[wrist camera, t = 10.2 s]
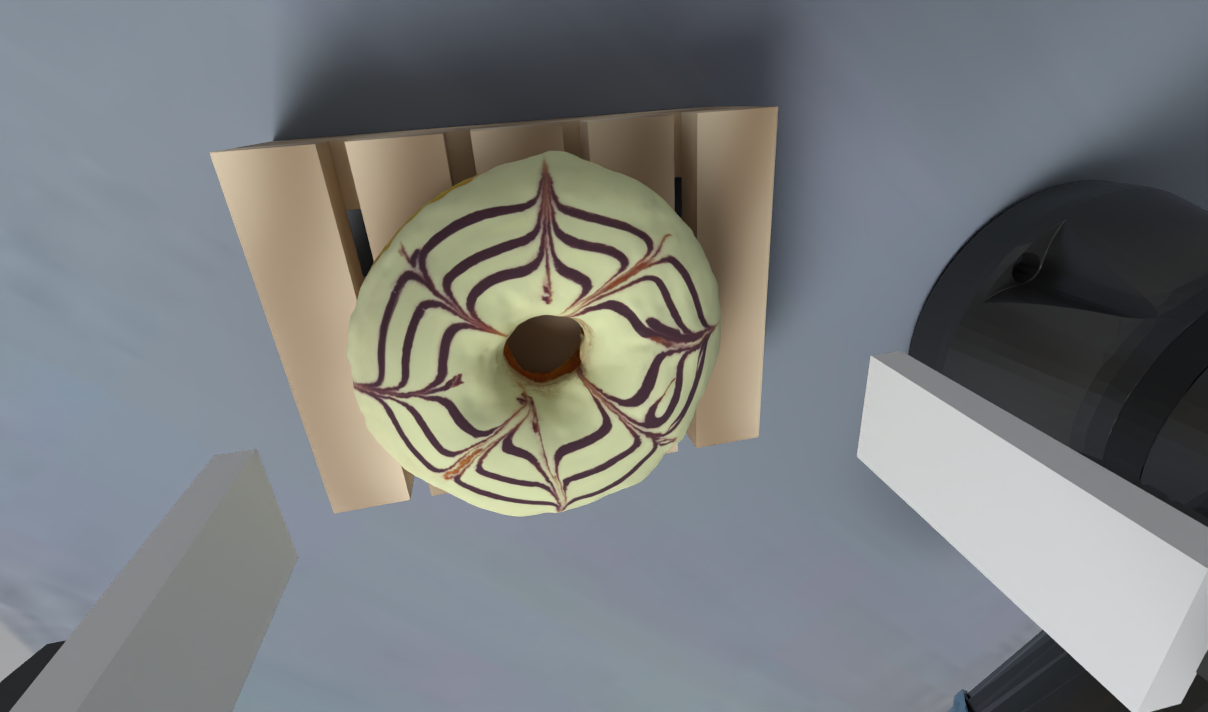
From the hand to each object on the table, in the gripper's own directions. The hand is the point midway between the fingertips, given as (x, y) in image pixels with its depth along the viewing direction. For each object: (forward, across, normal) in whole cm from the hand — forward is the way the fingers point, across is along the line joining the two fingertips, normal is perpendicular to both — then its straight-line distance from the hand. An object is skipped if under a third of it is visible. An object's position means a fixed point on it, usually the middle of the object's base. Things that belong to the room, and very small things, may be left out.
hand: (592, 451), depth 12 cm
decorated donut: (+7, 0, 0) cm, 7 cm away
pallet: (+12, +1, 0) cm, 12 cm away
